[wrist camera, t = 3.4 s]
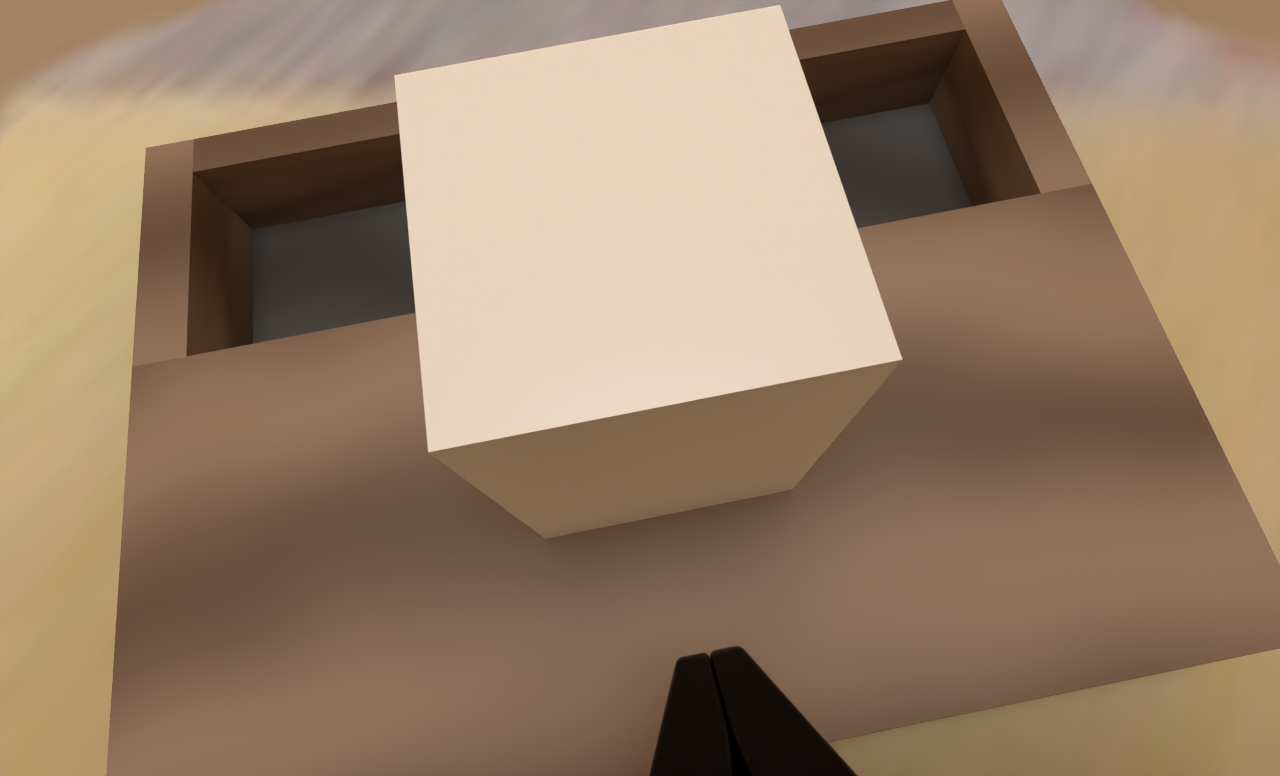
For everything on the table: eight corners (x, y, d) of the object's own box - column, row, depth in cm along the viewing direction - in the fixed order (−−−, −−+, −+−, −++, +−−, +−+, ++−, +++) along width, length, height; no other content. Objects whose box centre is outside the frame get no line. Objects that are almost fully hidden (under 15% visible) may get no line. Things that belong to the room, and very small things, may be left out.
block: (791, 489, 14) (902, 359, 7) (545, 538, 14) (428, 452, 7) (733, 272, 15) (780, 5, 9) (513, 314, 15) (394, 76, 9)
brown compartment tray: (1197, 639, 15) (1316, 640, 12) (208, 844, 15) (99, 893, 12) (952, 79, 21) (997, -9, 18) (220, 216, 20) (146, 147, 17)
